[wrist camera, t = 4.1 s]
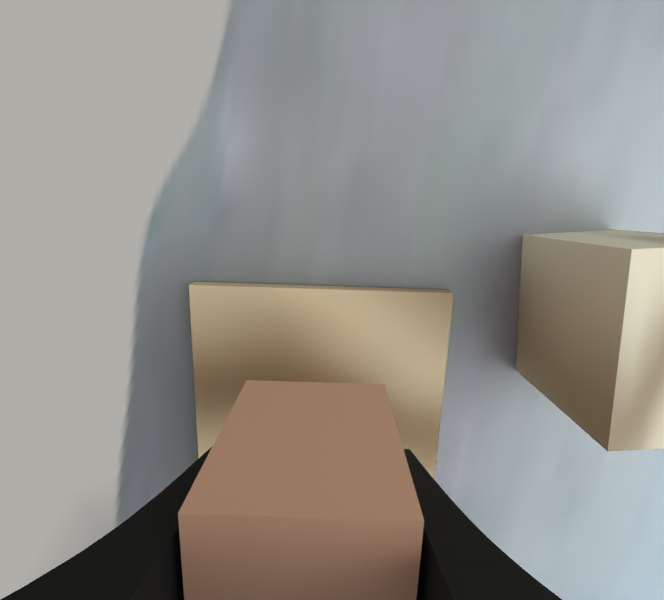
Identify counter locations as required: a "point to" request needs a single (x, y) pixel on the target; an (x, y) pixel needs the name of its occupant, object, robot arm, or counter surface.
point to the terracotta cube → (303, 500)
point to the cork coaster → (322, 348)
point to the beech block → (596, 331)
